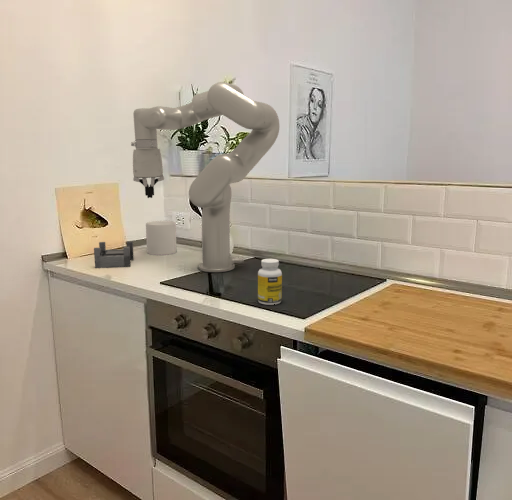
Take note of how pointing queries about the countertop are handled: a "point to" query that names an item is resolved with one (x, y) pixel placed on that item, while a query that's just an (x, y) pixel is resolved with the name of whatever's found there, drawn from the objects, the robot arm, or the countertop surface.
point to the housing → (116, 260)
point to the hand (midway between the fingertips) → (150, 197)
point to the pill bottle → (269, 282)
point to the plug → (114, 253)
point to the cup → (161, 237)
